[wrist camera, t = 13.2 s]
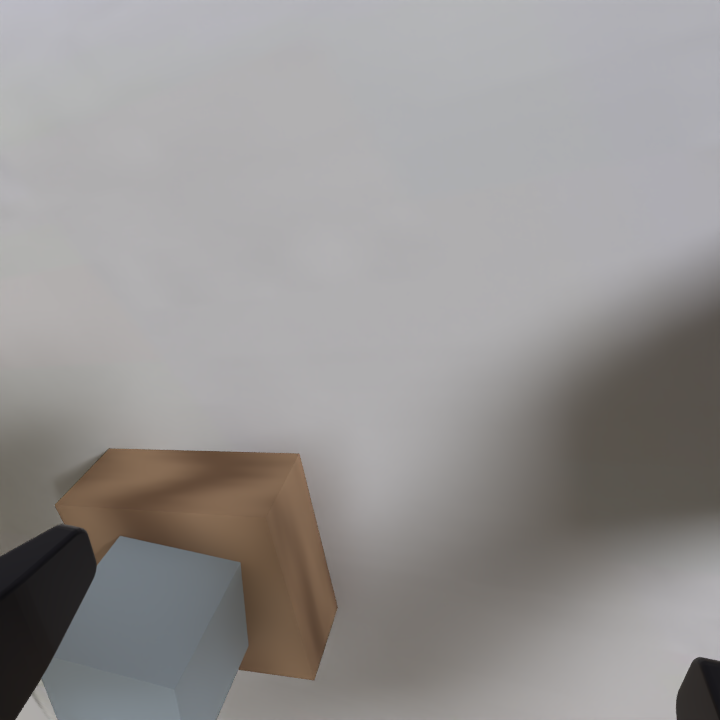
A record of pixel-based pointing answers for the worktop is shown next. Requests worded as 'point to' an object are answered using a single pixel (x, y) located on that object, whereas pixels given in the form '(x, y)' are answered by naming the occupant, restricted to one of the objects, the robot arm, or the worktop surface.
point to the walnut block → (223, 536)
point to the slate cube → (151, 637)
